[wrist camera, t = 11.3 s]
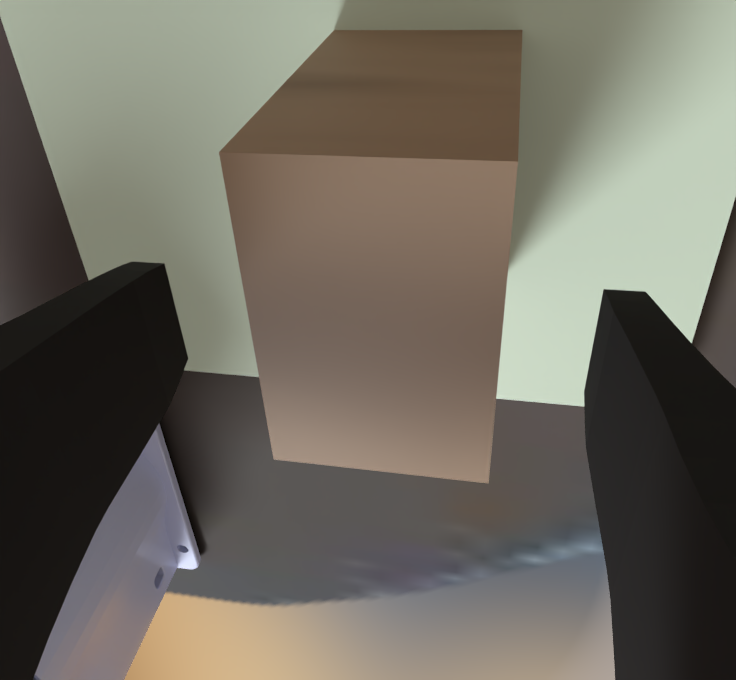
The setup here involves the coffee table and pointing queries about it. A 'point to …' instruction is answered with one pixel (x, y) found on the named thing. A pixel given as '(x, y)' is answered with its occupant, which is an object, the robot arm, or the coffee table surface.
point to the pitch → (535, 153)
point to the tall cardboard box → (381, 247)
